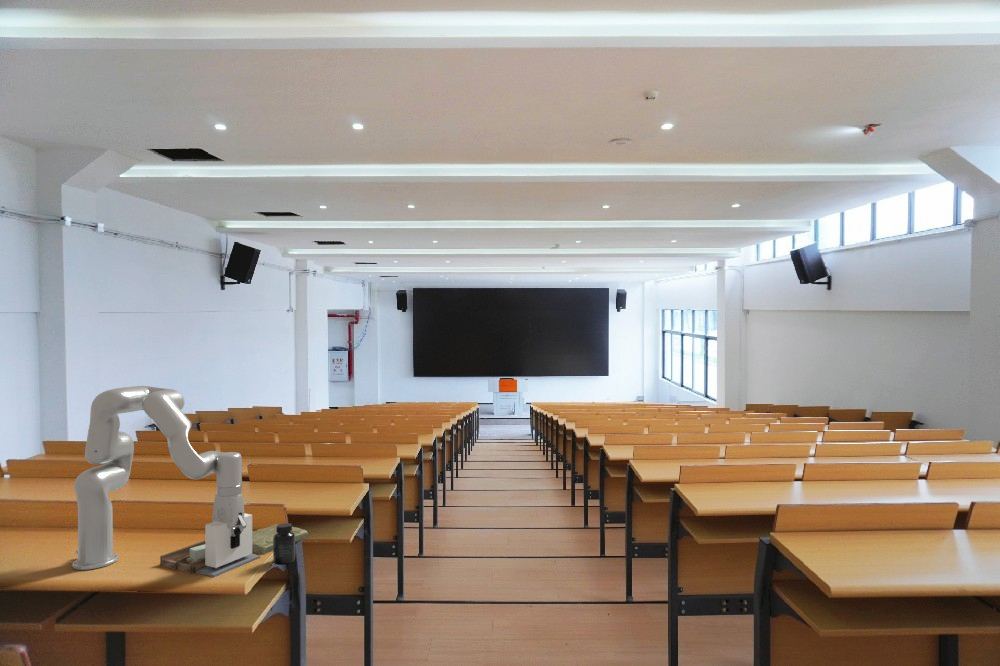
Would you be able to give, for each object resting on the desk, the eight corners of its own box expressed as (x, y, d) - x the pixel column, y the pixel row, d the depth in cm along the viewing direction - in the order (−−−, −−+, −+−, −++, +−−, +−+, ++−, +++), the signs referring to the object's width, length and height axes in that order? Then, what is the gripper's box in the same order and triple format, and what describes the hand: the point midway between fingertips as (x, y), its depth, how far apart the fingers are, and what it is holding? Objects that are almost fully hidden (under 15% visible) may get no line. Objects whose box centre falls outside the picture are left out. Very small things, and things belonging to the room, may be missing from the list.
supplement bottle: (275, 558, 198) (275, 522, 198) (296, 556, 200) (296, 521, 200) (271, 566, 192) (271, 529, 192) (293, 564, 193) (293, 527, 193)
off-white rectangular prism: (205, 565, 188) (205, 524, 188) (241, 551, 200) (241, 512, 200) (216, 567, 186) (216, 526, 186) (252, 553, 198) (252, 514, 198)
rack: (160, 565, 193) (160, 556, 193) (208, 547, 209) (208, 539, 209) (192, 573, 186) (192, 564, 186) (240, 554, 202) (240, 545, 202)
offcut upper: (189, 557, 193) (189, 548, 193) (219, 548, 200) (219, 540, 200) (195, 560, 190) (195, 551, 190) (225, 551, 198) (225, 542, 198)
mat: (196, 572, 187) (196, 570, 187) (243, 553, 203) (243, 552, 203) (213, 577, 183) (213, 575, 183) (260, 557, 199) (260, 555, 199)
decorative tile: (308, 538, 220) (308, 528, 220) (264, 555, 202) (264, 545, 202) (273, 530, 229) (273, 521, 229) (228, 547, 211) (228, 537, 211)
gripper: (201, 490, 193) (201, 545, 193) (237, 496, 186) (237, 554, 186) (221, 485, 200) (221, 538, 200) (257, 490, 193) (257, 546, 193)
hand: (229, 545), depth 193 cm, fingers closed on off-white rectangular prism, 4 cm apart
